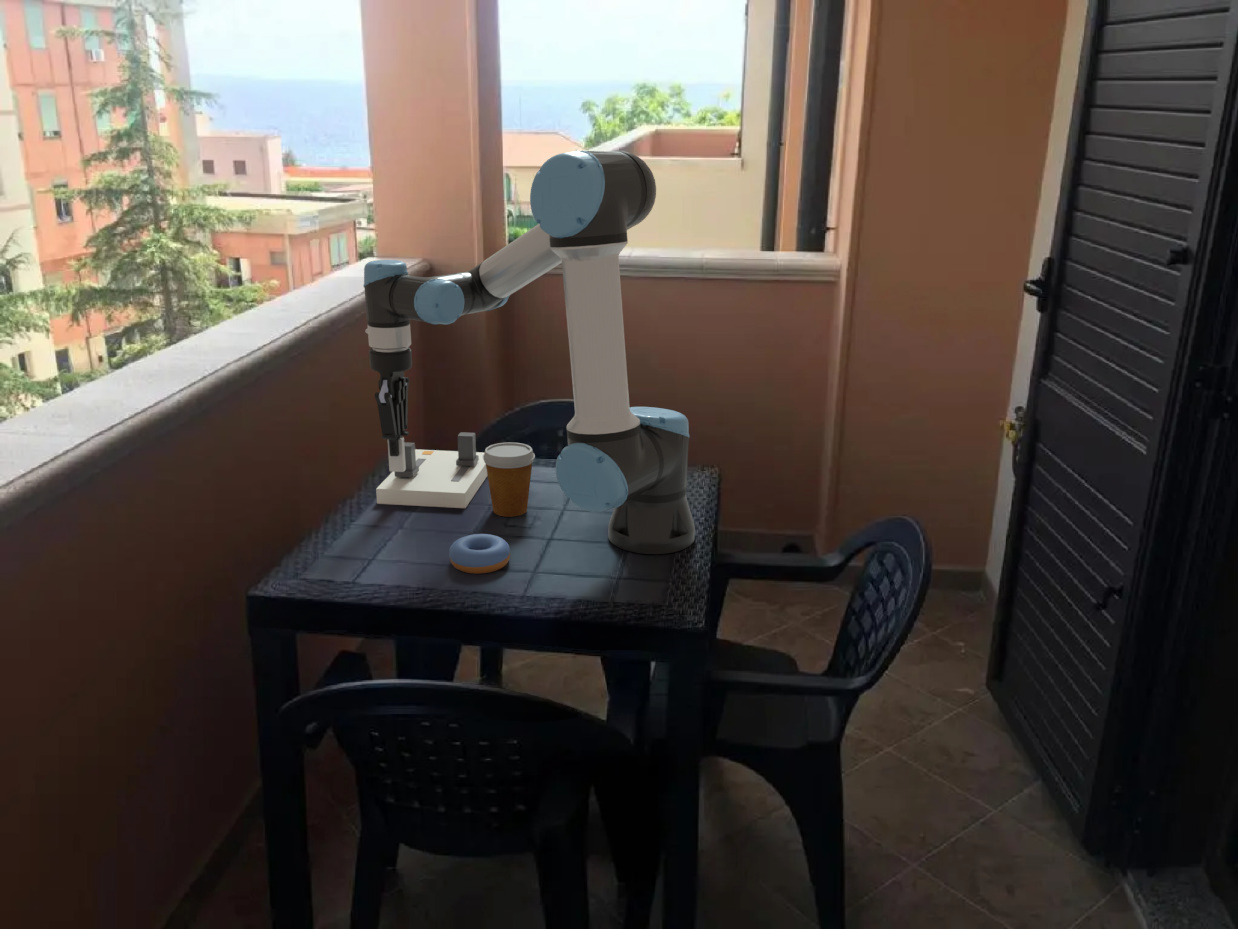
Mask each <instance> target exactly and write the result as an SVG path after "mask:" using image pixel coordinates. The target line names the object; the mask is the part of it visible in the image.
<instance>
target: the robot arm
mask: <svg viewBox="0 0 1238 929" xmlns="http://www.w3.org/2000/svg"><path fill="white" fill-rule="evenodd" d="M533 178H534V179H533V180H532V183H531V187H530V195H529V196H530V197H529V204H530V209H531V210H530V211H531V213H532V216H533V218H534V221H535V223H537V224H536V225H535V226H533V227H532V228H530V229H529V230H527V231H526V232H525V233H522V234H521V235H520V236H519V237H517V238H515V239H514V240H513V241H512V242H510V243H508V244H507V245H506V246H504V247H502V248H501V249H499V250H498V251H496V252H495V253H493V254H492V255H491V256H489V257H487V258H486V259H485V260H483V261H482V262H481V263H479V264H477V265H476V266H473V268H471V269H469V270H467V271H461V272H460V271H459V272H454V273H447V274H442V275H441V274H440V275H435V276H429V277H428V276H414V275H410V274H409V271H408V267H407V264H406V262H404V261H401V260H396V259H380V260H372V261H369V262H367V263H365V265H364V268H363V288H364V300H365V311H366V322H367V323H366V324H367V328H366V329H365V330H364V331H365V333H366V334H367V336H368V347H370V349H369V350H368V355H369V359H368V360H369V367H370V369H371V370H372V371H374V372H378V373H379V375H380V376H379V380H378V390H379V391H380V392H379V391H378V392H377V391H376V392H375V394H374V399H375V401H376V404H377V409H378V416H379V421H380V422H379V423H380V429H381V434H382V438H381V439H382V440H387V451H388V452H387V454H388V466H389V467H388V469H389V472H393V471H394V472H404V471H405V470H406V463H405V446H404V442H405V437H404V436H407V437H408V436H409V433H410V432H409V431H407V430H408V417H409V416H408V414H409V413H408V411H409V409H408V408H409V407H408V406H409V404H408V403H409V386H410V378H409V377H405V372H407V371H409V370H410V369H412V367H413V357H412V353H413V352H412V349H411V348H410V346H411V345H412V334H411V333H412V332H411V320H412V321H413V320H414V321H417V322H423V323H427V324H431V325H450V324H453V323H455V322H456V321H457V320H458V319H460V318H461V316H465V315H469V314H470V315H471V314H475V313H481V312H490V311H492V310H495V309H497V308H500V307H501V308H502V307H503V306H504V305H505V304H506V303H508V300H509V297H510V296H511V295H513V294H514V293H516V292H517V291H519V290H521V289H523V288H524V287H525V286H527V285H528V284H530V283H532V282H533V281H535V280H536V279H538V278H540V277H541V276H543V275H544V274H546V273H548V272H550V271H551V270H552V269H554V268H556V267H558V266H559V265H561V268H562V278H563V279H562V281H563V291H564V292H563V293H564V302H565V304H564V305H565V316H566V326H567V337H568V346H569V359H570V369H571V370H570V371H571V381H572V382H571V383H572V394H573V403H574V404H573V406H574V415H573V417H572V418H571V420H570V421H569V422H568V423H567V425H566V435H567V438H566V439H567V445H566V446H565V447H564V448H563V449H562V450H561V451H560V453H559V455H558V456H557V458H556V460H555V475H556V480H557V482H558V485H559V488H560V489H561V490H562V492H563V494H564V495H565V496H566V497H567V498H568V499H570V501H571V502H572V503H573V505H574V506H576V507H578V508H579V509H582V510H584V511H586V512H590V513H604V512H606V511H609V510H611V509H613V511H612V513H611V515H610V519H609V522H608V527H607V528H608V531H607V532H608V534H607V535H608V536H607V537H608V540H609V542H610V543H611V544H613V546H615V547H617V548H619V549H622V550H625V551H626V552H627V551H628V552H630V553H636V554H641V555H643V554H645V555H666V554H671V553H676V552H680V551H683V550H684V549H687V548H689V547H690V546H692V544H693V543H694V541H695V539H696V538H695V535H696V534H695V533H696V526H695V523H694V520H693V516H692V513H691V512H692V511H691V509H690V505H689V503H688V498H687V484H688V483H687V481H688V466H689V465H688V460H689V443H690V442H689V439H690V433H689V427H690V426H689V425H690V424H689V419H688V418H687V417H686V415H685V414H683V413H681V412H678V411H676V410H673V409H668V408H662V407H661V408H660V407H656V406H655V407H653V406H651V407H650V406H631V407H630V396H629V383H628V382H629V381H628V368H627V353H626V341H625V327H624V326H625V325H624V313H623V300H622V298H623V297H622V287H621V286H622V285H621V273H620V260H619V259H620V258H619V256H620V255H621V252H622V251H623V250H624V249H625V247H626V246H627V244H628V243H629V241H628V231H629V230H630V229H632V228H633V227H635V226H637V225H639V224H640V223H642V222H643V221H644V220H646V218H647V217H648V216H649V215H650V213H651V212H652V210H653V207H654V205H655V202H656V197H657V183H656V179H655V176H654V174H653V171H652V170H651V168H650V166H649V165H648V164H647V163H646V162H645V160H643V159H641V157H639V156H638V155H635V154H634V153H632V152H628V151H626V150H607V151H604V150H577V149H576V150H574V151H573V150H572V151H568V152H561V153H558V154H555V155H553V156H551V157H550V158H549V159H547V160H546V161H545V162H544V163H543V164H541V166H540V169H539V170H538V171H537V172H536V174H535V176H534V177H533Z"/></svg>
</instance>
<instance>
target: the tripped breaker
mask: <svg viewBox="0 0 1238 929" xmlns="http://www.w3.org/2000/svg"><path fill="white" fill-rule="evenodd" d="M404 446H405V463H406V470H405V471H404V472H395V477H414V476H415V475H416V474H417V472H418V471H419V466H416V456H415V449H416V444H415V442H406V441H404Z"/></svg>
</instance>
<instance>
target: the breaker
mask: <svg viewBox="0 0 1238 929" xmlns="http://www.w3.org/2000/svg"><path fill="white" fill-rule="evenodd" d="M476 439H477V438H476V432H467V431H465V432H463V431H460V432H459V433H458V435H457V451H458V459H457V460H456V466H475V464H476V463H477V462H478V460H479V456H478V455H476V452H477V448H476V447H477V446H476V441H477V440H476Z"/></svg>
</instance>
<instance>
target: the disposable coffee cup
mask: <svg viewBox="0 0 1238 929" xmlns="http://www.w3.org/2000/svg"><path fill="white" fill-rule="evenodd" d="M483 453H484V455H483V460H484V462H485V463H486V469H487V475H488V476H487V480H488V486H489V494H490V500H491V505H492V511H493V514H495V515H497V516H500V517H508V518H509V517H511V518H512V517H519V516H522V515H524V514H526V513H527V511H528V505H529V495H530V494H529V493H530V488H531V479H532V478H531V477H532V471H533V470H532V468H533V462H534V460H535V458H536V455H535V453H534V451H533V448H532V447H531V446H530V445H529V444H526V443H520V442H509V441H508V442H500V443H494V444H490V445H489V446H487V447H485V450H484V452H483Z"/></svg>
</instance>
